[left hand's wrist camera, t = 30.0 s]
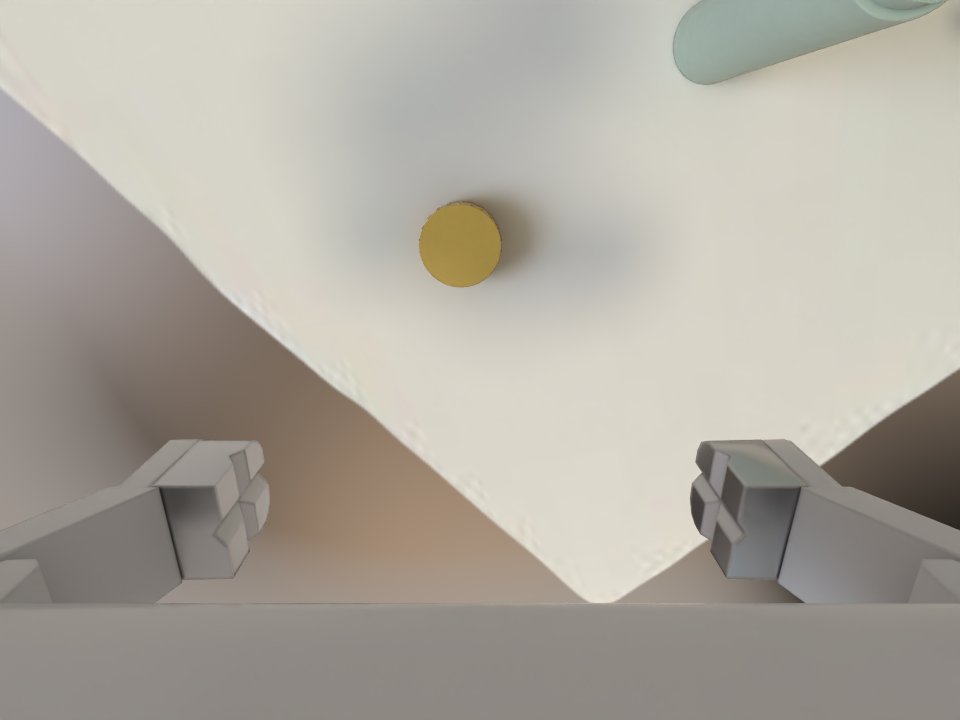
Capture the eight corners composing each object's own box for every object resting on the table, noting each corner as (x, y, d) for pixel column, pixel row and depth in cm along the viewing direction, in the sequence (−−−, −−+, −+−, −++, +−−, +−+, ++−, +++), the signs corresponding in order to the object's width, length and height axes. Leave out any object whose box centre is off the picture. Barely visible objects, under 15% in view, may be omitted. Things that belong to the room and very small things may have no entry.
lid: (405, 238, 38) (400, 243, 36) (464, 183, 37) (463, 184, 35) (458, 296, 40) (456, 304, 38) (517, 245, 38) (519, 250, 36)
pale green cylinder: (750, 75, 35) (1044, -16, 17) (676, 92, 35) (884, 21, 17) (747, -11, 33) (1070, -214, 15) (669, 8, 33) (893, -168, 15)
